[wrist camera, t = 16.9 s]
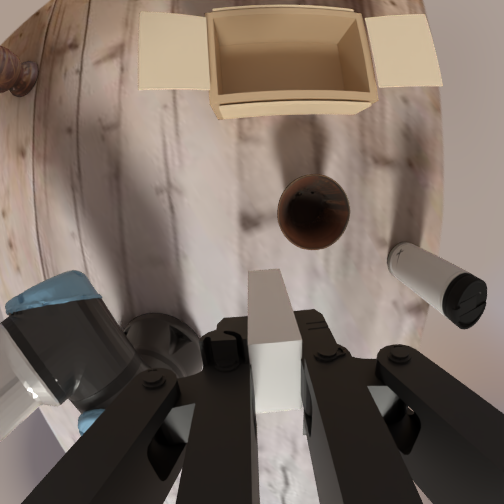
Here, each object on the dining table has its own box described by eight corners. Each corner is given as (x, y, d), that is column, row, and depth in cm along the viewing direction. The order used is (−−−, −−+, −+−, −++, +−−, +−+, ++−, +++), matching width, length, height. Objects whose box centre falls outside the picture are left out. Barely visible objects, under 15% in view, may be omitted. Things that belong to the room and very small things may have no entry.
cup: (274, 247, 45) (283, 256, 35) (265, 187, 44) (272, 178, 34) (331, 239, 45) (355, 245, 35) (323, 180, 44) (345, 170, 34)
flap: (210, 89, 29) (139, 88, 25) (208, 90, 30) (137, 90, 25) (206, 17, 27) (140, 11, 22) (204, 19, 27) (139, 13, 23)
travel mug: (382, 247, 45) (454, 292, 26) (415, 237, 45) (494, 274, 26) (387, 282, 47) (452, 340, 28) (419, 271, 47) (491, 320, 27)
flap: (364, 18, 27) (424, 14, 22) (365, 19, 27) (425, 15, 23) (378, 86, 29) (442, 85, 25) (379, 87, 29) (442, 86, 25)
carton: (218, 124, 41) (210, 109, 31) (212, 39, 37) (204, 9, 27) (352, 118, 40) (379, 105, 31) (340, 37, 37) (360, 9, 27)
